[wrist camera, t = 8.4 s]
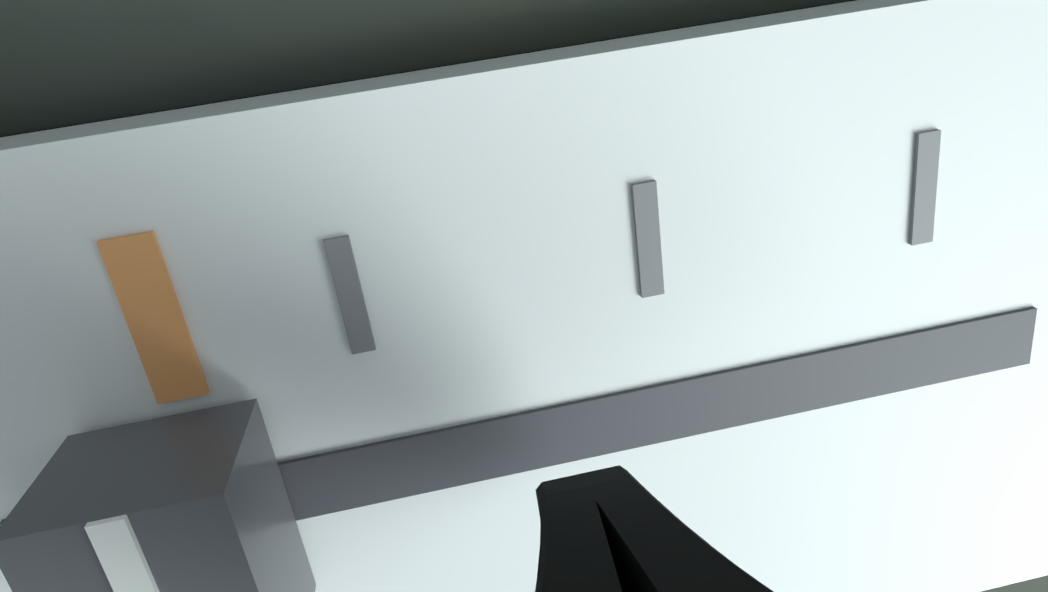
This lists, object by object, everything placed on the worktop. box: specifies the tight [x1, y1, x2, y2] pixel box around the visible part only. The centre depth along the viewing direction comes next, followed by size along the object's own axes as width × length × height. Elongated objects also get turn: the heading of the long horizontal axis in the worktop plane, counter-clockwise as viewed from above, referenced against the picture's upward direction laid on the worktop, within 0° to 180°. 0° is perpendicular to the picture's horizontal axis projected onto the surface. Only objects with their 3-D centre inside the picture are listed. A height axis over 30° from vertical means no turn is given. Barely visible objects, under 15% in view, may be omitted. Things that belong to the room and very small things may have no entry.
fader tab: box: [0, 398, 316, 592], centre depth 12 cm, size 4×3×3 cm
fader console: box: [0, 0, 1048, 592], centre depth 15 cm, size 13×23×2 cm, turn 98°
